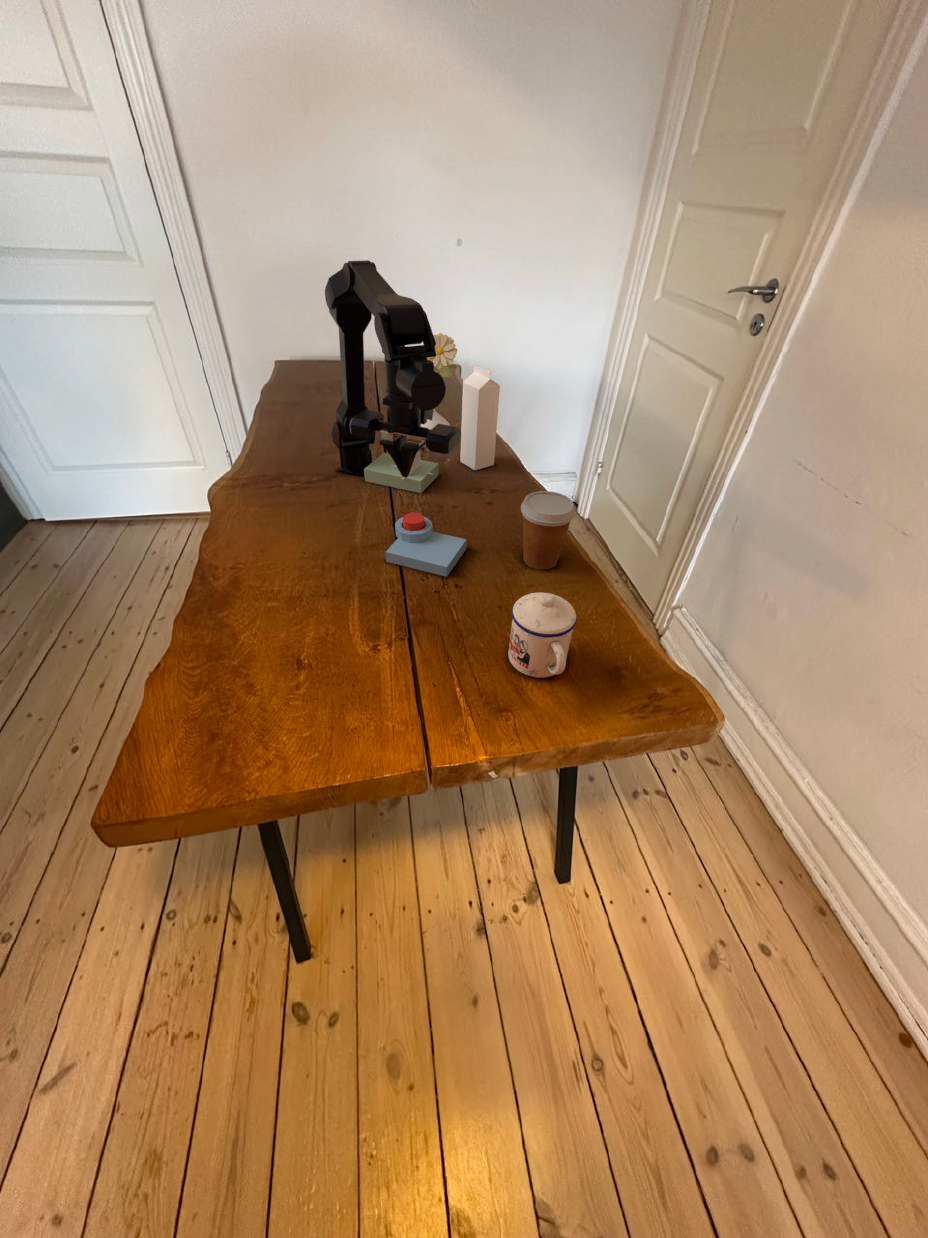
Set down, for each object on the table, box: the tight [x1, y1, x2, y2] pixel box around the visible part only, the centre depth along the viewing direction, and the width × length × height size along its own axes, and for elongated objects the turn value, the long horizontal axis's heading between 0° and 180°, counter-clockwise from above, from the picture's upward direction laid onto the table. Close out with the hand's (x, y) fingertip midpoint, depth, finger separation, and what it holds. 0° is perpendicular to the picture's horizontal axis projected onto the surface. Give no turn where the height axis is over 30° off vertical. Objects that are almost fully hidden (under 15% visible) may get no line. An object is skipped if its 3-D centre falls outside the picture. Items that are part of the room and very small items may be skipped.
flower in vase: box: [421, 332, 458, 430], centre depth 139 cm, size 13×11×25 cm
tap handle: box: [409, 449, 421, 476], centre depth 121 cm, size 6×2×4 cm, turn 159°
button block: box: [385, 516, 468, 577], centre depth 102 cm, size 13×12×4 cm
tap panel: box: [363, 452, 440, 494], centre depth 125 cm, size 15×11×3 cm
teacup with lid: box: [507, 592, 578, 678], centre depth 77 cm, size 12×9×12 cm
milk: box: [459, 364, 501, 471], centre depth 127 cm, size 6×6×22 cm
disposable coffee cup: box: [520, 490, 576, 571], centre depth 99 cm, size 10×10×12 cm
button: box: [402, 512, 425, 531], centre depth 103 cm, size 4×4×2 cm
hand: (405, 476), depth 101 cm, fingers closed
